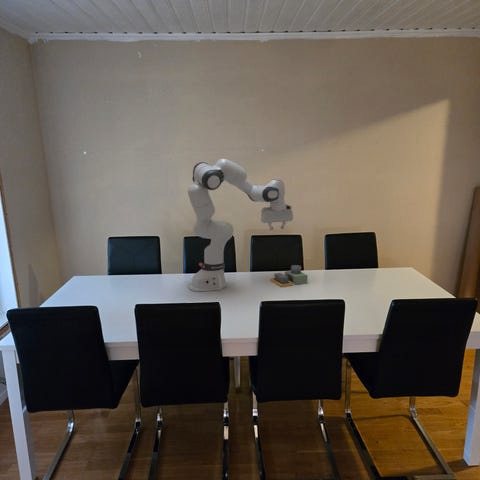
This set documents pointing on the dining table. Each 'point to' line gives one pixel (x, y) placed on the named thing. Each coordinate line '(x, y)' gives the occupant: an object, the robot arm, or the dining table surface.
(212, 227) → the robot arm
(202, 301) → the dining table surface
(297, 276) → the grey and tan shapes
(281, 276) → the dark grey block
